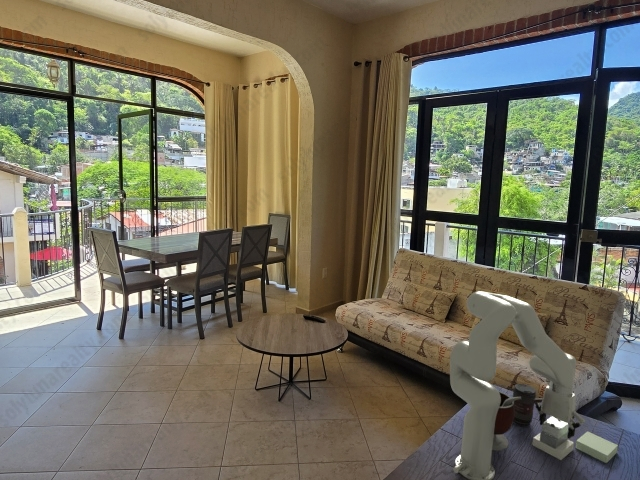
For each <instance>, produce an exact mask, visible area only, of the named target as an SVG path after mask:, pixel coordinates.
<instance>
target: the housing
mask: <svg viewBox="0 0 640 480" xmlns="http://www.w3.org/2000/svg"><path fill="white" fill-rule="evenodd" d="M568 428H569V425H568V423H565V422H563V421H561V420H558V419H556V418H554V417H552V416H550V417H549V418H547V419H546V421H545V422H543V425H542V429H541V431H540V433H541V434H540V441H541V442H542V443H544V444H546V445H548V446H550V447H552V448H554V449H556V448H557V447H559V446H560V445H561V444H562V443H564V442H565V441H566V440H567V439H568V440H569V438H568V437H567V435H568Z"/></svg>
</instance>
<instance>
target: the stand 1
mask: <svg viewBox="0 0 640 480" xmlns="http://www.w3.org/2000/svg"><path fill="white" fill-rule="evenodd" d="M540 434H541V432H540V433H538V434H537V435H535V436H533V438H532V439H533V440H532V446H534V447H535V448H537V449H539V450H541V451H543V452H544V453H546V454H548V455H550V456H552V457H554V458H555V459H558V460H560V461H563V459H564V458H565V457H567V456H568V455H569V454H570V453H571V452H573V450H574V446H575V442H574V441H572V440H570V439H569V438H568V439H567V440H566V441H565V442H564V443H562V444H561V445H560V446H559V447H557V448H556V449H554V448H552V447H550V446H548V445H546V444H544V443H542V442H541V441H540Z"/></svg>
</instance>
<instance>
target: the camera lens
mask: <svg viewBox="0 0 640 480" xmlns="http://www.w3.org/2000/svg"><path fill="white" fill-rule="evenodd" d="M536 391H537V390H536V389H535V388H534V387H532V386H530V385H528V384H524V383H517V384H516V383H515V385H514V387H513V390H512V397H521V399H518V400H515V401H514V412H515V413H514V420H513V423H512V424H515V425H516V426H518V427H523V428H527V427H530V426H531V423H532V421H533V418H534V417H533V416H534V407H535V403H534V399H537V392H536Z"/></svg>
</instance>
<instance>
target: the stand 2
mask: <svg viewBox="0 0 640 480" xmlns="http://www.w3.org/2000/svg"><path fill="white" fill-rule="evenodd" d="M618 447H619V446H618V444H616V443H613V442H612V441H609V440H607V439H606V438H604V437H603V438H602V437H601V436H598V435H596V434H594V433H592V432H590V431H588V430H587V431H586V432H585V433H584V434H582V435H581V436H580V437H579V438H577V440H576V441H575V449H577V450H579V451H581V452H583V453H585V454H587V455H589V456H590V457H593V458H595V459H596V460H599V461H601V462H603V463H604V464H607V463H608V462H609V461H610V460H611V459H613V457H614V456H615V455H616V454H617V453H618Z"/></svg>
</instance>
